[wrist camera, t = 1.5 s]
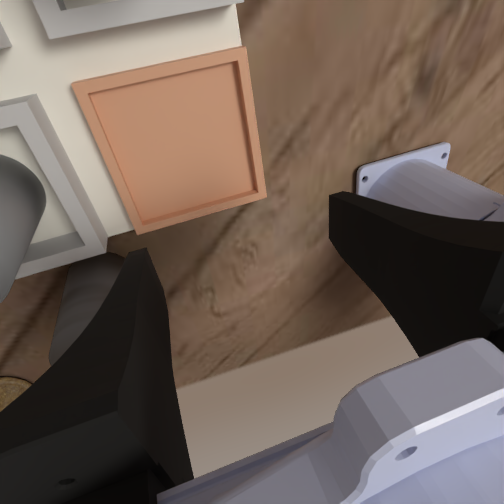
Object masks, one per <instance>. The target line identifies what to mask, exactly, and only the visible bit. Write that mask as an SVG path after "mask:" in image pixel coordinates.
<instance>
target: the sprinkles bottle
mask: <svg viewBox="0 0 504 504" xmlns="http://www.w3.org/2000/svg"><path fill="white" fill-rule="evenodd" d="M31 385H32V384H30V383H28V382H27V381H24V380H21V379H18V378H12V377H3V378H0V412H1V411H2V410H3V409H4V408H5V407H7V406H8V405H9V404H10V403H11V402H12V401H14V400H15V399H16V398H17V397H18V396H20V395H21V394H22V393H23V392H24V391H26V390H27V389H28V388H29V387H30V386H31Z"/></svg>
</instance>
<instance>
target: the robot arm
mask: <svg viewBox="0 0 504 504" xmlns="http://www.w3.org/2000/svg"><path fill="white" fill-rule="evenodd" d="M449 152H450V144H449V143H447V142H442V143H439V144H435V145H432V146H428V147H425V148H421V149H418V150H414V151H411V152H407V153H404V154H400V155H397V156H394V157H390V158H387V159H383V160H380V161H376V162H373V163H369V164H366V165H363V166H361V167H360V168H359V169H358V171H357V183H356V194H354V193H349V192H344V191H342V192H339V193H335V194H332V195H329V239H330V241H331V242H332V244H333V245H334V247H335V248H336V250H337V251H338V253H339V254H340V256H341V257H342V258H343V259H344V260H345V262H346V263H347V264H348V265H349V266H350V267H351V268H352V269H353V270H354V271H355V273H356V274H357V275H358V276H359V277H360V278H361V279H362V280H363V281H364V282H365V283H366V285H367V286H368V287H369V288H370V289H371V290H372V291H373V292H374V293H375V294H376V296H377V297H378V298H379V299H380V300H381V302H382V303H383V304H384V306H385V307H386V308H387V310H388V311H389V313H390V314H391V315H392V317H393V318H394V319H395V321H396V322H397V324H398V325H399V327H400V328H401V330H402V331H403V333H404V334H405V336H406V337H407V339H408V340H409V342H410V343H411V345H412V346H413V348H414V350H415V351H416V353H417V354H418V356H419V358H417V359H414V360H412V361H409V362H407V363H404V364H402V365H399V366H397V367H394V368H392V369H389V370H387V371H384V372H382V373H379V374H376V375H374V376H372V377H370V378H369V379H367V380H365V381H363V382H362V383H360V384H358V385H356V386H355V387H354V388H353V389H352V390H351V391H349V392H348V394H346V395H345V396H344V397H343V398H342V399H341V401H340V403H339V405H338V408H337V410H336V412H335V416H334V422H331V423H329V424H326V425H324V426H321V427H319V428H317V429H314V430H312V431H309V432H307V433H304V434H302V435H300V436H297V437H295V438H292V439H290V440H288V441H285V442H283V443H280V444H278V445H275V446H273V447H271V448H268V449H266V450H263V451H261V452H258V453H256V454H253V455H251V456H249V457H246V458H244V459H242V460H239V461H237V462H234V463H232V464H229V465H227V466H224V467H222V468H219V469H217V470H215V471H212V472H210V473H207V474H205V475H203V476H200V477H198V478H195V479H194V476H193V472H192V467H191V462H190V458H189V453H188V449H187V444H186V439H185V434H184V429H183V424H182V419H181V415H180V409H179V404H178V398H177V393H176V388H175V382H174V377H173V369H172V358H171V344H170V330H169V317H168V309H167V304H166V299H165V295H164V290H163V287H162V285H161V282H160V280H159V278H158V275H157V273H156V270H155V268H154V265H153V263H152V260H151V258H150V256H149V253H148V251H147V248H143V249H140V250H136V251H133V252H129V254H128V255H127V257H126V259H125V261H124V264H123V266H122V268H121V270H120V272H119V274H118V276H117V278H116V280H115V282H114V284H113V286H112V288H111V290H110V291H109V293H108V295H107V297H106V298H105V300H104V302H103V303H102V305H101V307H100V308H99V310H98V311H97V313H96V314H95V316H94V317H93V319H92V320H91V321H90V323H89V324H88V325H87V327H86V328H85V329H84V331H83V332H82V333H81V334H80V336H79V337H78V338H77V339H76V340H75V341H74V342H73V344H72V345H71V346H70V347H69V348H68V349H67V350H66V351H65V353H64V354H63V355H62V356H61V357H60V358H59V359H58V360H57V361H56V362H55V363H54V364H53V365H52V366H51V367H50V368H49V369H48V370H47V371H46V372H45V373H44V374H43V375H42V376H41V377H40V378H39V379H38V380H37V381H36V382H35V383H33V384H32V385H31V386H30V387H29V388H28V389H27V390H26V391H24V392H23V393H22V394H21V395H20V396H18V397H17V398H16V399H15V400H14V401H12V402H11V403H10V404H9V405H8V406H7V407H5V408H4V409H3V410H2V411H1V412H0V504H504V195H501V194H499V193H497V192H495V191H493V190H490V189H488V188H486V187H484V186H482V185H479V184H477V183H475V182H473V181H471V180H469V179H466V178H464V177H462V176H460V175H458V174H455V173H453V172H451V171H449V170H447V169H446V166H447V161H448V157H449ZM442 154H443V155H442ZM364 176H365V178H364V180H362V178H363V177H364Z"/></svg>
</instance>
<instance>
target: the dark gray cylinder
mask: <svg viewBox="0 0 504 504" xmlns="http://www.w3.org/2000/svg"><path fill="white" fill-rule="evenodd" d="M124 261H125V258H123V257H121V256H119V255H117V254H114V253H110V252H106V253H103V254H100V255H96V256H93V257H90V258H86V259H83V260H79V261H76V262H73V263H72V265H71V266H70V268H69V270H68V274H67V279H66V283H65V287H64V292H63V296H62V300H61V305H60V309H59V313H58V317H57V322H56V326H55V330H54V335H53V339H52V343H51V348H50V352H49V361H50V364H51V366H52V365H53V364H54V363H55V362H56V361H57V360H58V359H59V358H60V357H61V356H62V355H63V354H64V353H65V351H66V350H67V349H68V348H69V347H70V346H71V345H72V344H73V342H74V341H75V340H76V339H77V338H78V337H79V336H80V334H81V333H82V332H83V331H84V329H85V328H86V327H87V325H88V324H89V323H90V321H91V320H92V319H93V317H94V316H95V314H96V313H97V311H98V310H99V308H100V307H101V305H102V303H103V302H104V300H105V298H106V297H107V295H108V293H109V291H110V290H111V288H112V286H113V284H114V282H115V280H116V278H117V276H118V274H119V272H120V270H121V268H122V266H123V264H124Z"/></svg>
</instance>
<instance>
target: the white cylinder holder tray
mask: <svg viewBox="0 0 504 504" xmlns="http://www.w3.org/2000/svg"><path fill="white" fill-rule="evenodd" d="M242 2H244V0H0V303H1V302H2V301H3V300H4V299H5V298H6V297H7V295H8V293H9V291H10V289H11V287H12V284H13V282H14V280H15V279H18V278H22V277H25V276H29V275H32V274H35V273H39V272H42V271H46V270H49V269H52V268H56V267H59V266H63V265H66V264H69V263H73V262H76V261H79V260H83V259H86V258H90V257H93V256H96V255H100V254H103V253H106V249H107V238H108V237H110V236H113V235H117V234H120V233H124V232H127V231H131V230H134V229H135V231H136V233H137V235H140V234H143V233H147V232H150V231H153V230H157V229H160V228H164V227H167V226H171V225H174V224H177V223H181V222H184V221H188V220H191V219H195V218H198V217H202V216H205V215H208V214H212V213H215V212H219V211H222V210H226V209H229V208H232V207H236V206H239V205H243V204H246V203H250V202H253V201H256V200H260V199H263V198H267V194H266V187H265V180H264V172H263V165H262V158H261V151H260V144H259V137H258V129H257V122H256V115H255V108H254V101H253V93H252V86H251V79H250V72H249V65H248V58H247V50H246V47H245V46H241V39H240V32H239V25H238V18H237V11H236V3H242Z"/></svg>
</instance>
